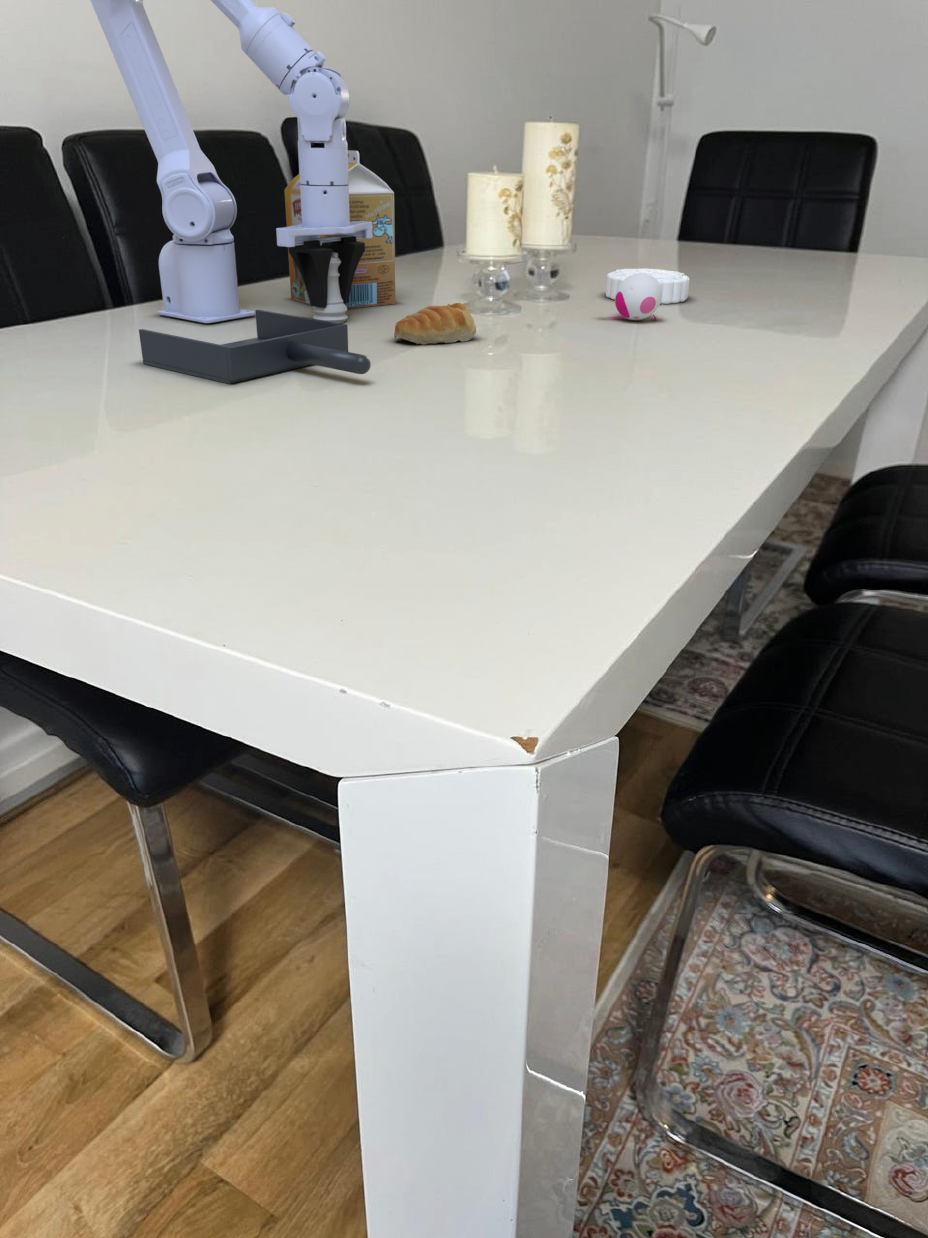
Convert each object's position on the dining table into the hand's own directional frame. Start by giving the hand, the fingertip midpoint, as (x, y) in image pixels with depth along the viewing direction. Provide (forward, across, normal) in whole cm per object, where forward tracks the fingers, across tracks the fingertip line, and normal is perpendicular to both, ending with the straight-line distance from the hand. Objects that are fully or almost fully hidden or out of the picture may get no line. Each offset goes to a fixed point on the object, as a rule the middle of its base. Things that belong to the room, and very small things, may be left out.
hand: (329, 304), depth 120 cm
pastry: (+2, 0, -17) cm, 17 cm away
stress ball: (+2, +27, -28) cm, 39 cm away
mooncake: (+2, +45, -21) cm, 50 cm away
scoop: (+2, -22, -14) cm, 26 cm away
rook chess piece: (+2, 0, 0) cm, 2 cm away
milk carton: (+2, +12, +9) cm, 15 cm away
